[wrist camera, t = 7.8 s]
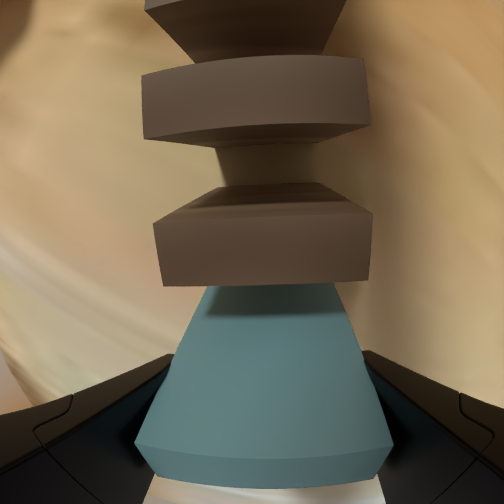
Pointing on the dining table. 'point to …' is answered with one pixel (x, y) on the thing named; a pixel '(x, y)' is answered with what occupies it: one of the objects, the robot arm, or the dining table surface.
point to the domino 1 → (246, 26)
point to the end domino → (267, 394)
